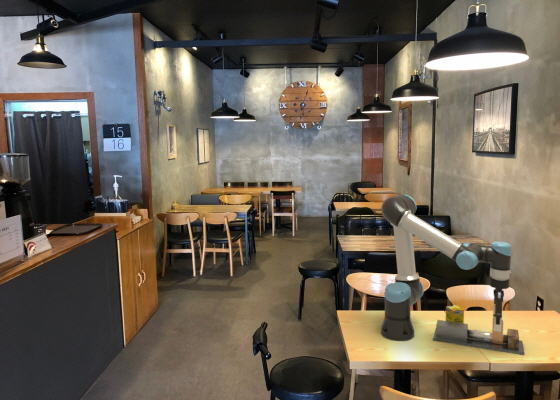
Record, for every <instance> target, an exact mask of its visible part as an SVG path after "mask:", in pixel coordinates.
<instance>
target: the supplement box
mask: <svg viewBox="0 0 560 400" xmlns="http://www.w3.org/2000/svg"><path fill="white" fill-rule="evenodd" d="M445 321H450V322H458V323H465V322H464V321H465V309H464V308H462V307H460V306H458V305H457V304H456V305H455V304H454V305H448V306H445Z"/></svg>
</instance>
